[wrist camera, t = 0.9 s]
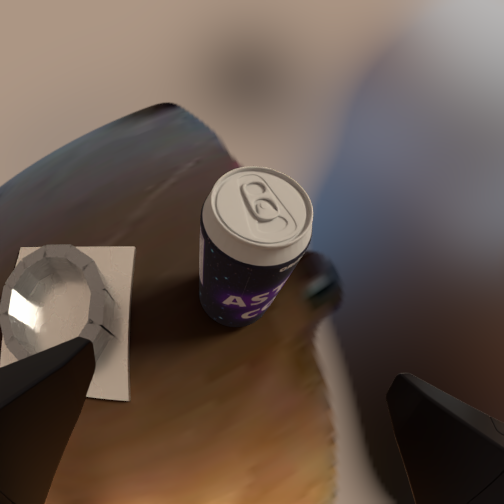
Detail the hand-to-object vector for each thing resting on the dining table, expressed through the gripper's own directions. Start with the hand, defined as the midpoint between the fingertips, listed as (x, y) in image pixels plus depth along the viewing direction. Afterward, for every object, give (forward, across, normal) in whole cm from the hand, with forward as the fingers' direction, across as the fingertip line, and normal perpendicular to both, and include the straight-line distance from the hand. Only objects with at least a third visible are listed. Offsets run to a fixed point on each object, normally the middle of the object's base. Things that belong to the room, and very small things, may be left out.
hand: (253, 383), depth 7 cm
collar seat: (+12, +14, +8) cm, 20 cm away
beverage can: (+16, 0, +5) cm, 16 cm away
